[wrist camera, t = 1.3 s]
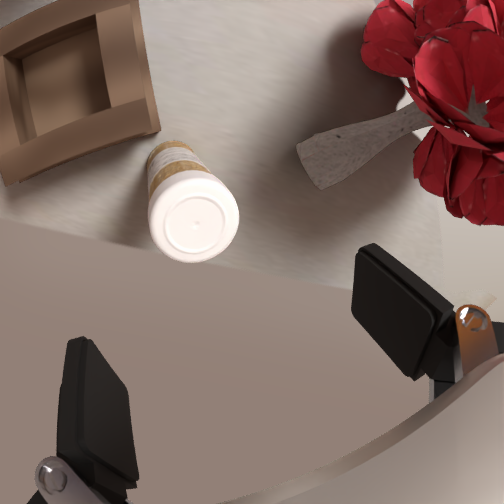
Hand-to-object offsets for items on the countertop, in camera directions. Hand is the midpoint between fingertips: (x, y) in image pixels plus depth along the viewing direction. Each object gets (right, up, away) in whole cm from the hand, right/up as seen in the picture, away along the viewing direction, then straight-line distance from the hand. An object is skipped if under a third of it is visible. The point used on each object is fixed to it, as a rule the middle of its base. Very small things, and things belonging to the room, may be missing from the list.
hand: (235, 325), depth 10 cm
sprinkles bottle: (-7, +10, +16) cm, 20 cm away
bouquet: (+15, +21, +18) cm, 32 cm away
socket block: (-14, +17, +9) cm, 24 cm away
